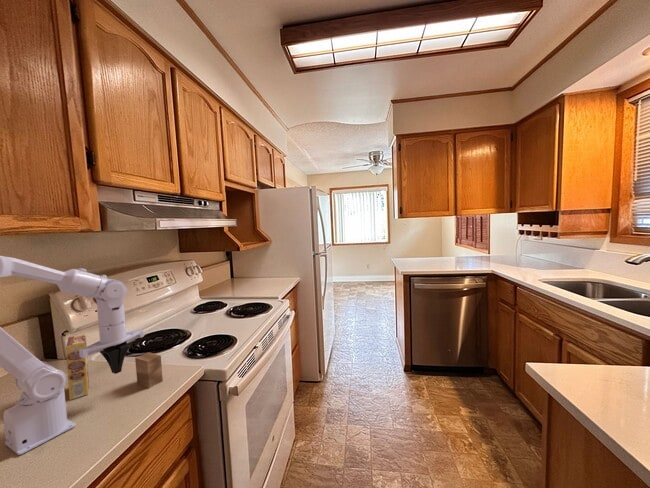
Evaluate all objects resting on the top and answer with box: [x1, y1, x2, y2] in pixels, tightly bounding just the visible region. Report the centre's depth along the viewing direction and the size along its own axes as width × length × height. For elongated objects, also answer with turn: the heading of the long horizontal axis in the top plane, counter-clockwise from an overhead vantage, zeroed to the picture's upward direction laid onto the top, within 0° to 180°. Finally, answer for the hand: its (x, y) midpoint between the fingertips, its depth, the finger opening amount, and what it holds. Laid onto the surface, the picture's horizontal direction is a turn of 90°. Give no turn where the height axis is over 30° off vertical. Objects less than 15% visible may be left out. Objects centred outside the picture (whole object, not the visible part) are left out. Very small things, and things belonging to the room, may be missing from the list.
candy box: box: [65, 333, 90, 400], centre depth 80 cm, size 9×4×15 cm, turn 39°
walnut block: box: [134, 352, 164, 389], centre depth 84 cm, size 4×6×8 cm, turn 63°
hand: (116, 372), depth 76 cm, fingers closed
